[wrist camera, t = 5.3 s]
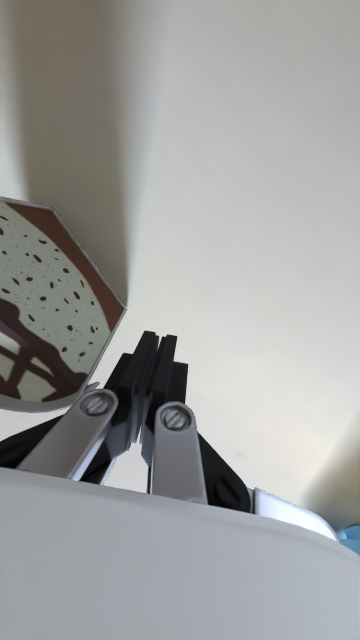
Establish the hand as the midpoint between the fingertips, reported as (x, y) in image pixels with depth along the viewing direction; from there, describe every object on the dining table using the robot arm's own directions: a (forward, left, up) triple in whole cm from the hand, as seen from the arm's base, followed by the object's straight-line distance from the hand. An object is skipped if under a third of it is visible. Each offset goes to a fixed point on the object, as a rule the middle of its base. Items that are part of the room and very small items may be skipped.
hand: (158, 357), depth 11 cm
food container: (0, -9, -8) cm, 13 cm away
